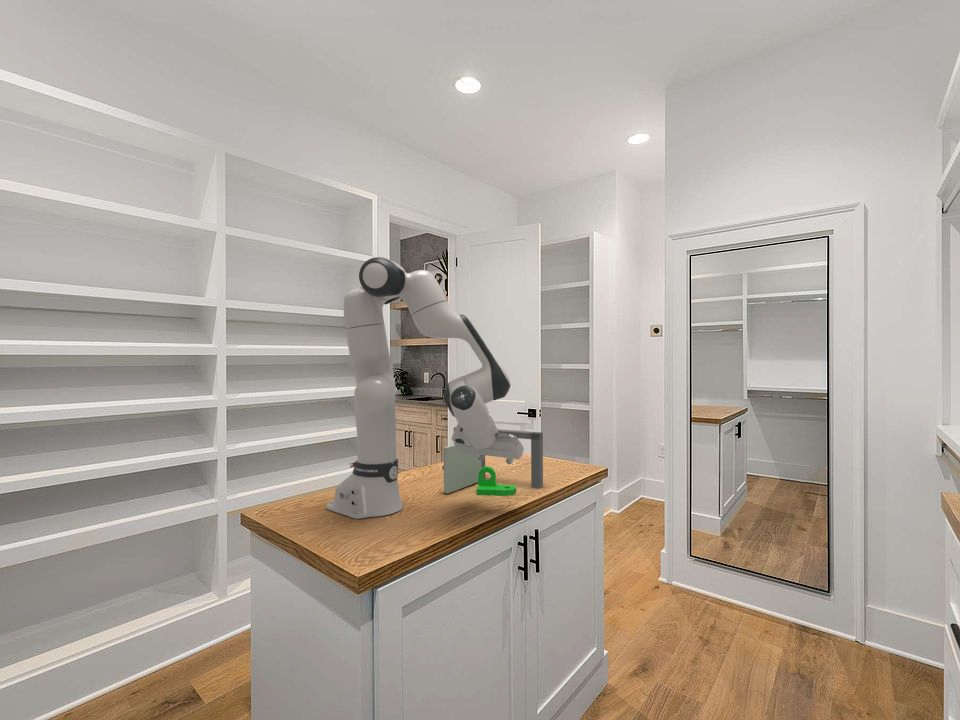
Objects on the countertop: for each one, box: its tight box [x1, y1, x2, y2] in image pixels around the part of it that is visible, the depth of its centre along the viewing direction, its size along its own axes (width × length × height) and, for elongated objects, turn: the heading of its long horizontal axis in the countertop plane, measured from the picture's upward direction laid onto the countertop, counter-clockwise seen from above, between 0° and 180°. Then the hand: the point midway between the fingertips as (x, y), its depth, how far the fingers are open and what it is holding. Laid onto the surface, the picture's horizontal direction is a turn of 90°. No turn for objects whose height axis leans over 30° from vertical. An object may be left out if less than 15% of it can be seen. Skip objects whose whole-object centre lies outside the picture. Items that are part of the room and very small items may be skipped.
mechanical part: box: [476, 465, 517, 497], centre depth 153 cm, size 12×6×8 cm, turn 82°
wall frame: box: [453, 426, 544, 489], centre depth 166 cm, size 32×3×18 cm, turn 63°
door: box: [442, 443, 481, 495], centre depth 159 cm, size 18×3×14 cm, turn 143°
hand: (495, 460), depth 143 cm, fingers open, 8 cm apart
